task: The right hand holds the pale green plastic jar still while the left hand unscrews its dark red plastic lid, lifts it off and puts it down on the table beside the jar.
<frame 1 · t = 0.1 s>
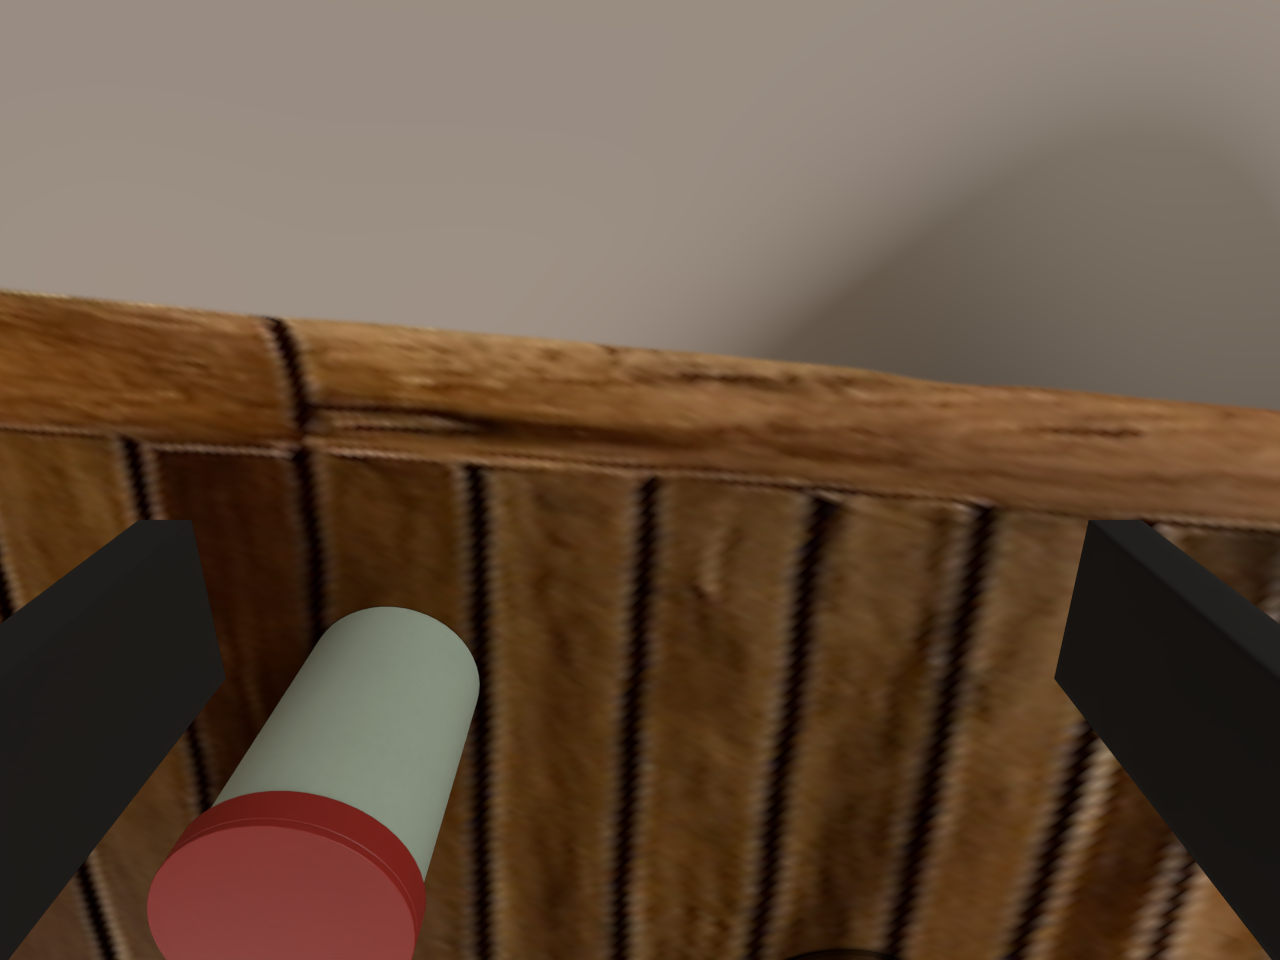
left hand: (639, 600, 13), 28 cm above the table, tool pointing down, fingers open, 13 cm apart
jar: (395, 678, 46), on the table
lid: (285, 920, 32), point 16 cm above the table, screwed on, not yet turned
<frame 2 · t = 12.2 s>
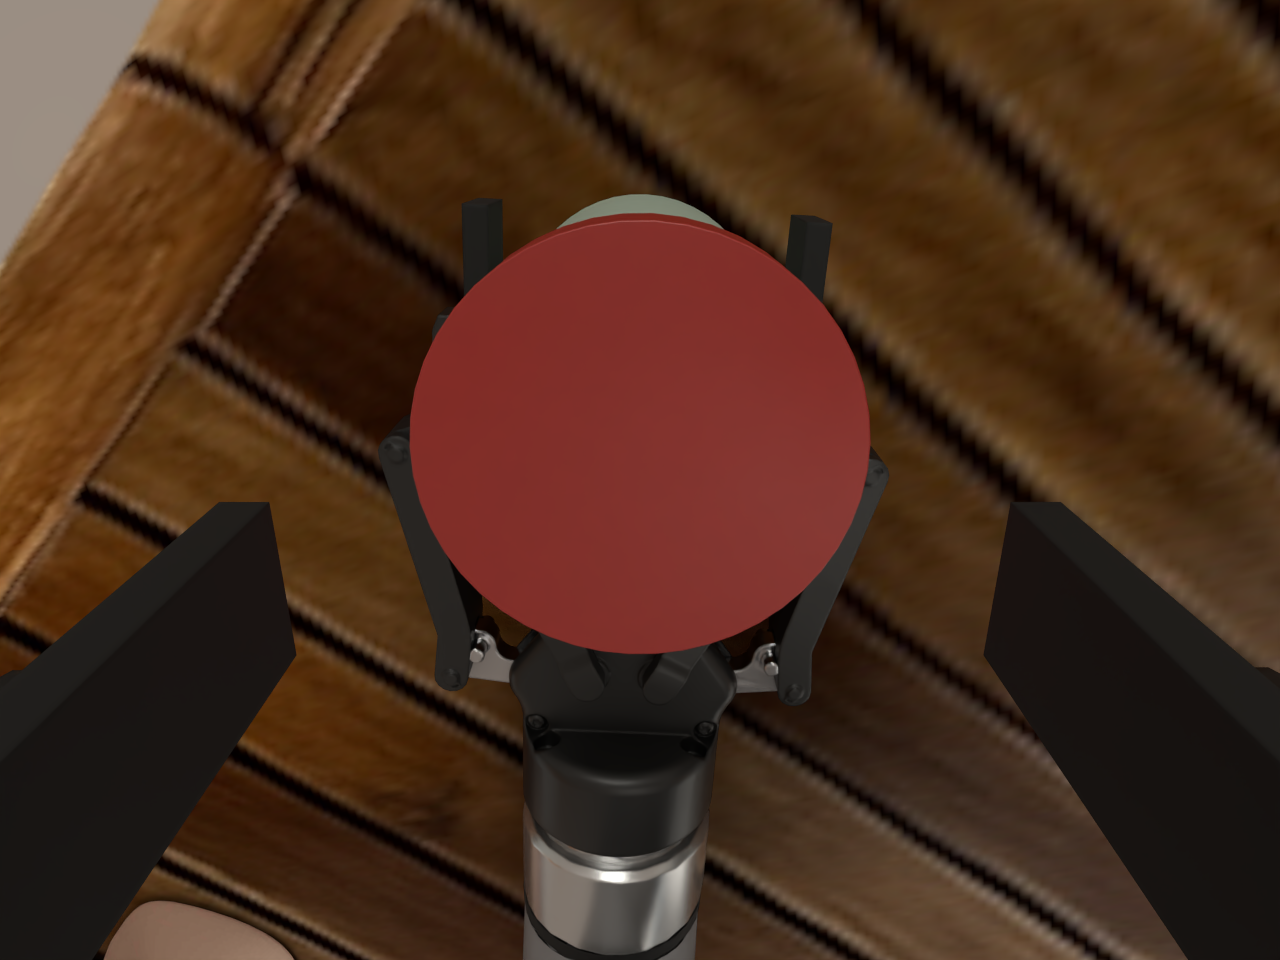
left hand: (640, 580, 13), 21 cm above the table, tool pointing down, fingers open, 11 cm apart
jar: (640, 317, 33), on the table, touching right hand
lid: (639, 453, 19), point 16 cm above the table, screwed on, not yet turned
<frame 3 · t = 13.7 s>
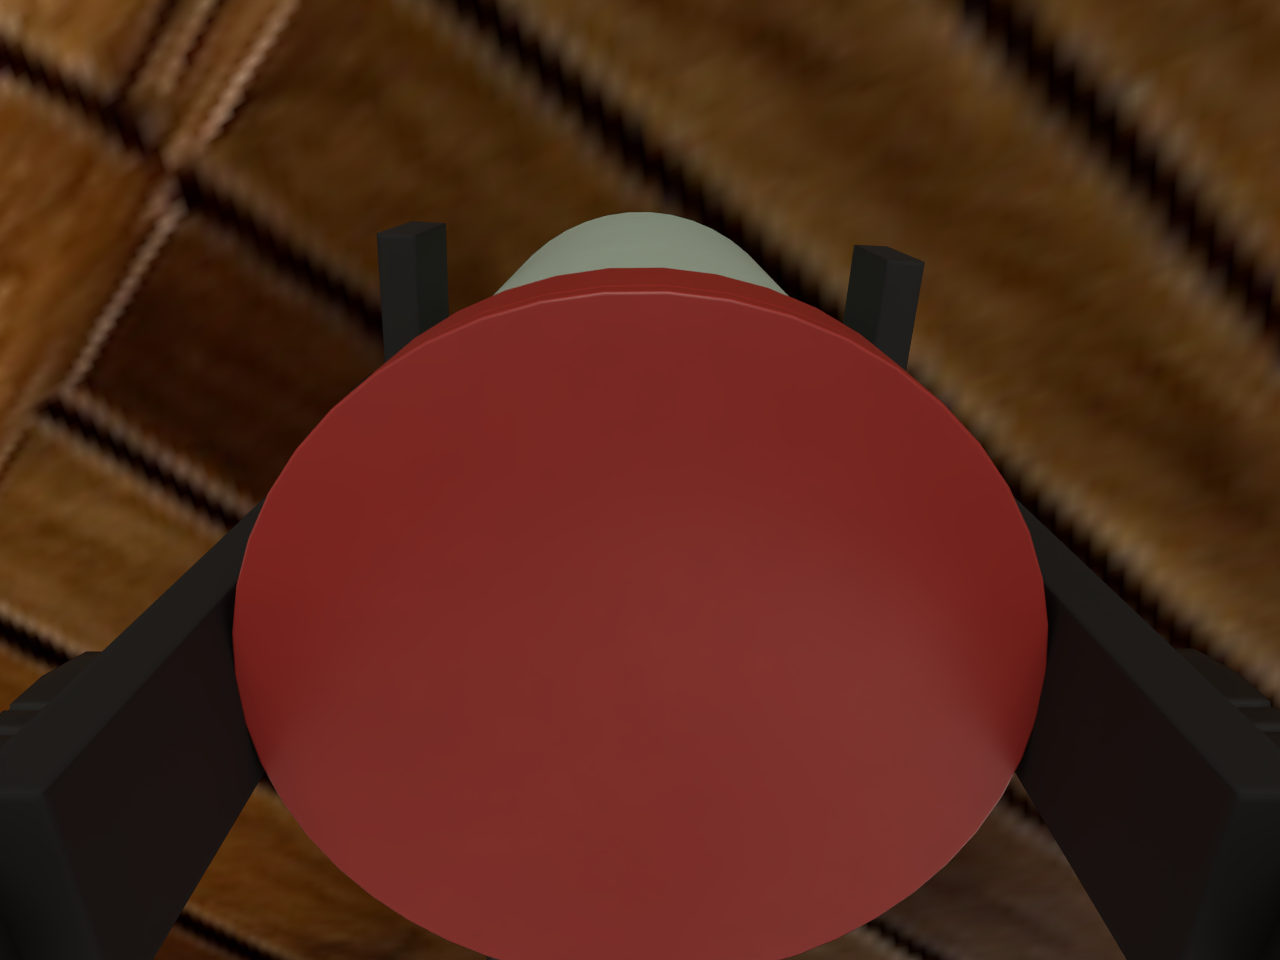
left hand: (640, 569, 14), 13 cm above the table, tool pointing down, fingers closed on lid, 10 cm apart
jar: (640, 372, 25), on the table, touching right hand
lid: (640, 681, 11), point 16 cm above the table, screwed on, not yet turned, touching left hand
when the left hand's fingers open (0 cm above the table, at t = 36.4 s): lid drops 2 cm, point 1 cm above the table.
when the right hand's fingers open (6 cm above the table, at t = 37.4 s): jar stays where it is, on the table.
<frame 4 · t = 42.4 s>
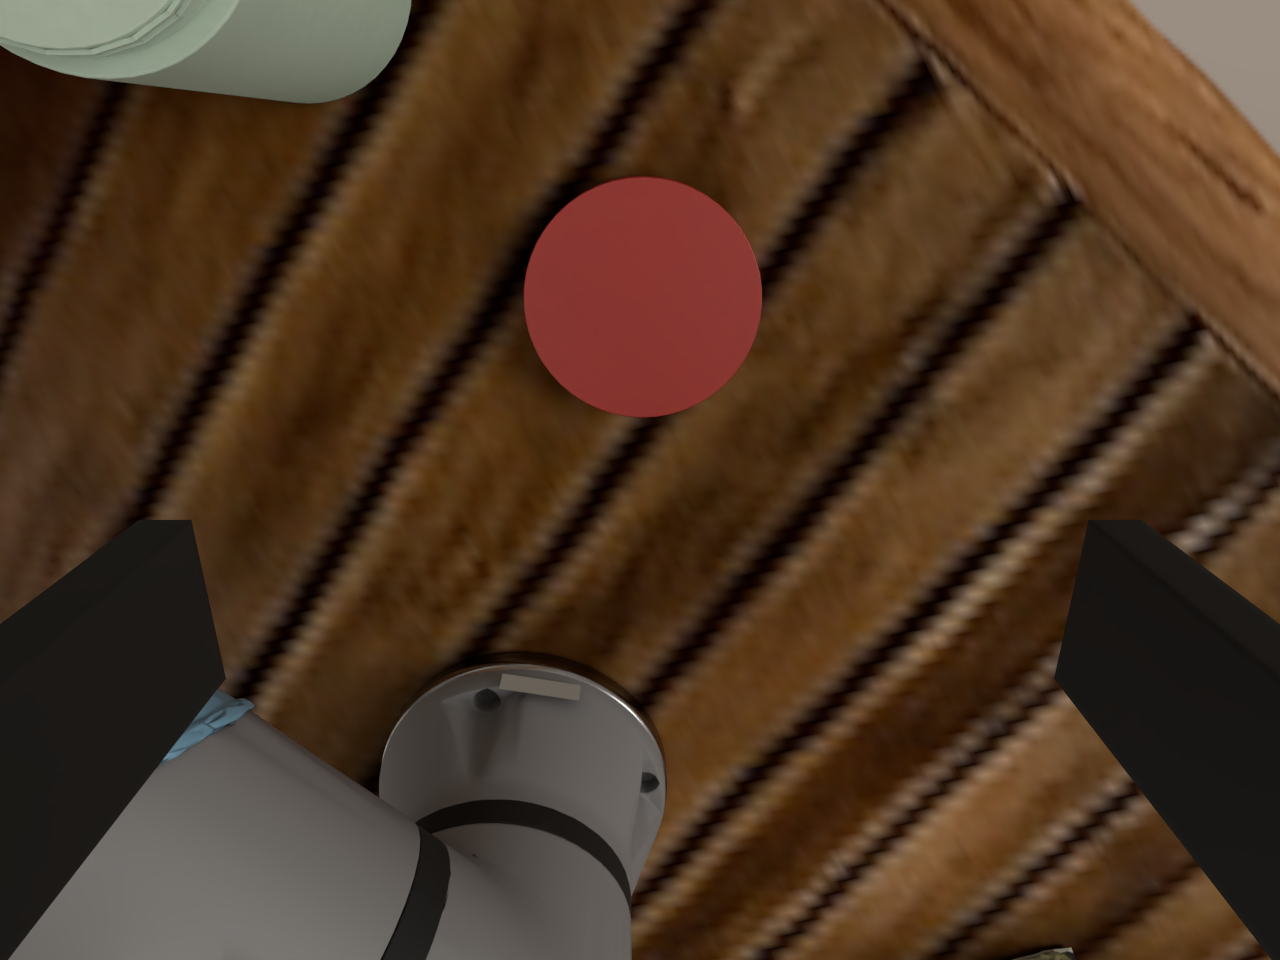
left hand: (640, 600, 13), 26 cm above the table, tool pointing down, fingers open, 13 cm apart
lid: (642, 302, 36), point 1 cm above the table, off its thread
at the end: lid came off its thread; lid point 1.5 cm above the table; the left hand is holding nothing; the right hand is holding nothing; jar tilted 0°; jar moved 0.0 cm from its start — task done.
